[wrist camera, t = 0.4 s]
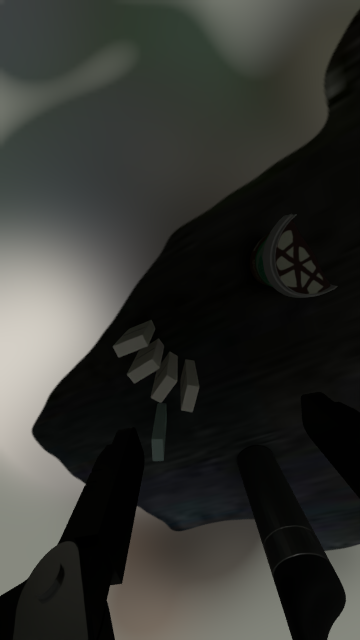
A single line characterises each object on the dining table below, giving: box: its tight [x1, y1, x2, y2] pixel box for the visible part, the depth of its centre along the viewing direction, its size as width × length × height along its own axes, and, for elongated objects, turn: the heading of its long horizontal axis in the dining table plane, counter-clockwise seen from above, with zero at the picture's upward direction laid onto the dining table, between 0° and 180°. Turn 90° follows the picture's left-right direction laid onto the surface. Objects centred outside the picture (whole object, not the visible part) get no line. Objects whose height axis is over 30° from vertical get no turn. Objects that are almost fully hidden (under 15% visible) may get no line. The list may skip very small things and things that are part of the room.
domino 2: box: [127, 338, 164, 384], centre depth 32 cm, size 2×5×9 cm, turn 123°
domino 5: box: [180, 359, 199, 412], centre depth 33 cm, size 2×5×9 cm, turn 168°
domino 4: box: [152, 403, 167, 461], centre depth 36 cm, size 2×5×9 cm, turn 0°
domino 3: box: [151, 352, 178, 403], centre depth 33 cm, size 2×5×9 cm, turn 146°
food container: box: [250, 214, 338, 298], centre depth 28 cm, size 12×6×10 cm, turn 39°
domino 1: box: [113, 320, 155, 357], centre depth 31 cm, size 2×5×9 cm, turn 112°
